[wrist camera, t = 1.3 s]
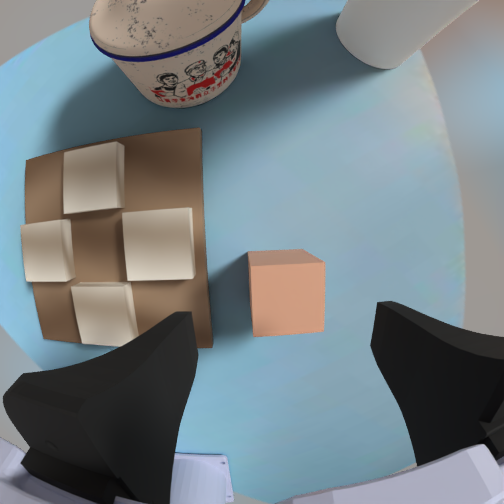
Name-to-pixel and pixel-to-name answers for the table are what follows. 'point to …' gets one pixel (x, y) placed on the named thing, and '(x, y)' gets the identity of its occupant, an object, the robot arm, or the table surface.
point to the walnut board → (117, 237)
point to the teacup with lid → (174, 45)
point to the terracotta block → (286, 292)
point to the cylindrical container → (394, 27)
